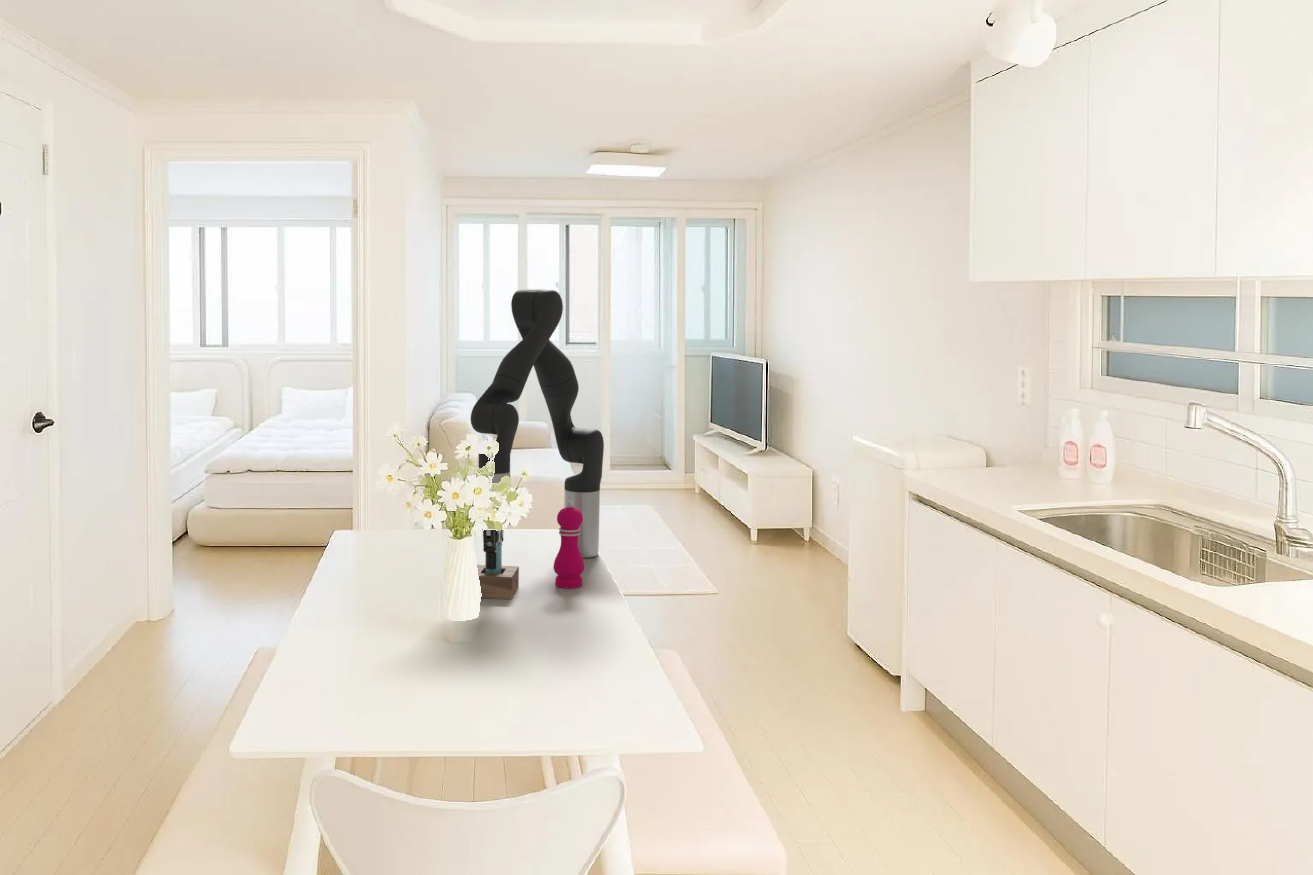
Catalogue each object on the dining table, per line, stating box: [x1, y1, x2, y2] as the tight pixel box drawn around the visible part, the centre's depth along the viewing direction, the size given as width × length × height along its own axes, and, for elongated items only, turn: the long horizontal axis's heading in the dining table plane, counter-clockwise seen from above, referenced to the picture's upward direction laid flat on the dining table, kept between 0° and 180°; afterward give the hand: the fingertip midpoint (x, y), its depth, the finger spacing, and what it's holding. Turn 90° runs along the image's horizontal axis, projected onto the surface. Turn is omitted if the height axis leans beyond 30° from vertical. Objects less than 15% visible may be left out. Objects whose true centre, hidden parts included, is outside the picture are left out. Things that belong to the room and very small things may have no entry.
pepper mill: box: [553, 501, 586, 589], centre depth 255 cm, size 7×7×20 cm
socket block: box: [476, 564, 520, 600], centre depth 247 cm, size 10×10×5 cm
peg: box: [484, 543, 503, 574], centre depth 247 cm, size 4×4×10 cm
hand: (493, 565), depth 247 cm, fingers open, 5 cm apart
